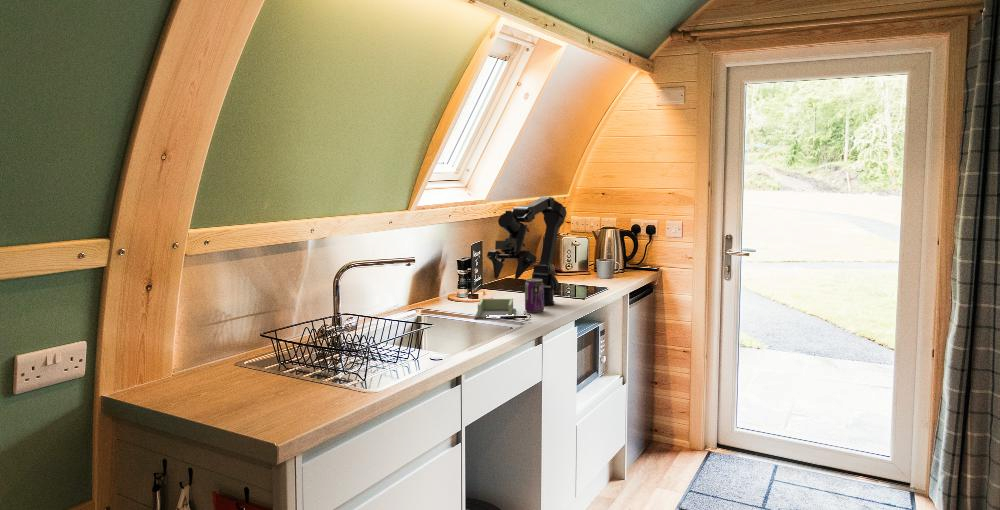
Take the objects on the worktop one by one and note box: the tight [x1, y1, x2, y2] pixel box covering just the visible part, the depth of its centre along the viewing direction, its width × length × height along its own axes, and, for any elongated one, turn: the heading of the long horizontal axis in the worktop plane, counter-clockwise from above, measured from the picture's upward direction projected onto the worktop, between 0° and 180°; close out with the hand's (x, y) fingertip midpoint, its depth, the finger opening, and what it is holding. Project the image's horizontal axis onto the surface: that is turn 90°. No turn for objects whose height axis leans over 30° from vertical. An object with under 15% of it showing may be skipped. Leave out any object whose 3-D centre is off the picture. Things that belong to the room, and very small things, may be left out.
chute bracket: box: [474, 298, 517, 320], centre depth 286 cm, size 15×14×5 cm
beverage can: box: [524, 277, 545, 314], centre depth 290 cm, size 7×7×12 cm
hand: (505, 278), depth 277 cm, fingers open, 9 cm apart
